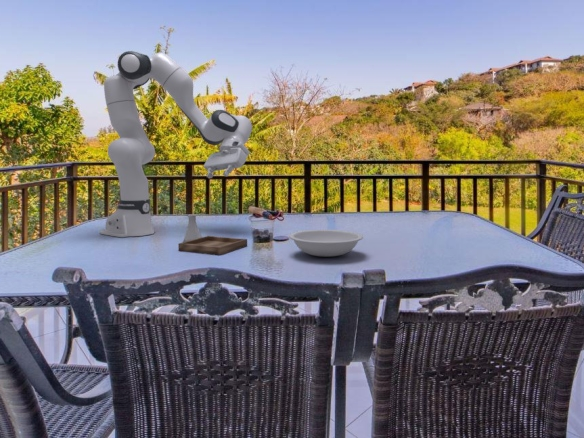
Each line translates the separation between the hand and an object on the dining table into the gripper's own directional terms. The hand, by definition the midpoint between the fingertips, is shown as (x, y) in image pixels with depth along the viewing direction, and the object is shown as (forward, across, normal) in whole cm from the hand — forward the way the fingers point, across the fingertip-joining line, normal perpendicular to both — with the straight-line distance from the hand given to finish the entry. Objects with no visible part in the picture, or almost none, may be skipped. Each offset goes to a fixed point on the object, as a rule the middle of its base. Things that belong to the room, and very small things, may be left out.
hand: (217, 176), depth 192 cm
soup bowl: (+26, +52, +17) cm, 61 cm away
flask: (+28, -2, +5) cm, 28 cm away
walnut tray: (+32, +15, +2) cm, 36 cm away
